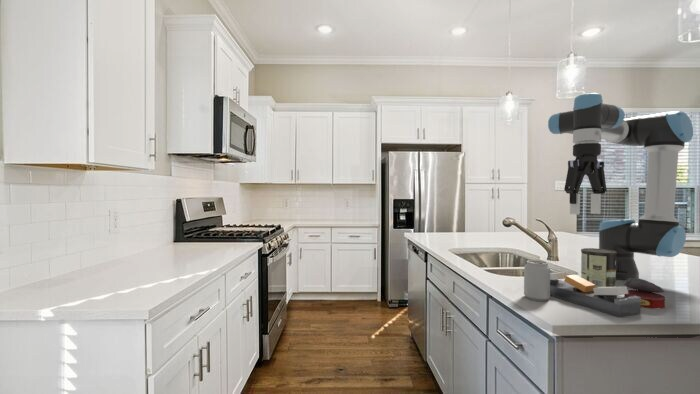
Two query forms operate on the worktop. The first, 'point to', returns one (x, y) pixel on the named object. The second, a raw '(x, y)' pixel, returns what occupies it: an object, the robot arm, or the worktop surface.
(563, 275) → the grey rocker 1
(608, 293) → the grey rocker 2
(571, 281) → the orange rectangular block
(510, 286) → the worktop surface
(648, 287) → the canned food
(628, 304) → the dark grey tray
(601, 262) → the coffee can
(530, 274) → the can
